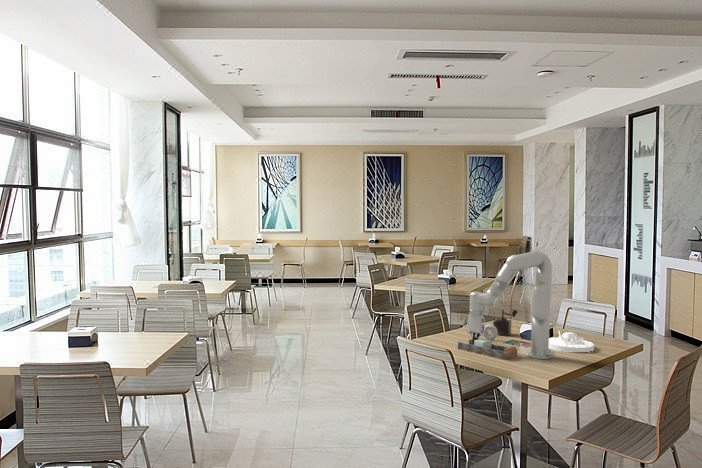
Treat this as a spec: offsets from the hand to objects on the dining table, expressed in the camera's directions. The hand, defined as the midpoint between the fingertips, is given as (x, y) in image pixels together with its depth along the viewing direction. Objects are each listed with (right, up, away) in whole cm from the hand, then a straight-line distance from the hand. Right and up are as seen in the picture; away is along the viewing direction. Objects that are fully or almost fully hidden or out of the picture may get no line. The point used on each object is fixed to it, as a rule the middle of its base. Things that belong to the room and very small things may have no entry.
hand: (475, 344), depth 326 cm
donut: (+15, -3, +28) cm, 32 cm away
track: (+5, -4, -6) cm, 9 cm away
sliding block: (+3, -2, -4) cm, 6 cm away
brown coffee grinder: (+30, -3, +44) cm, 53 cm away
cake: (+59, -5, +11) cm, 60 cm away
